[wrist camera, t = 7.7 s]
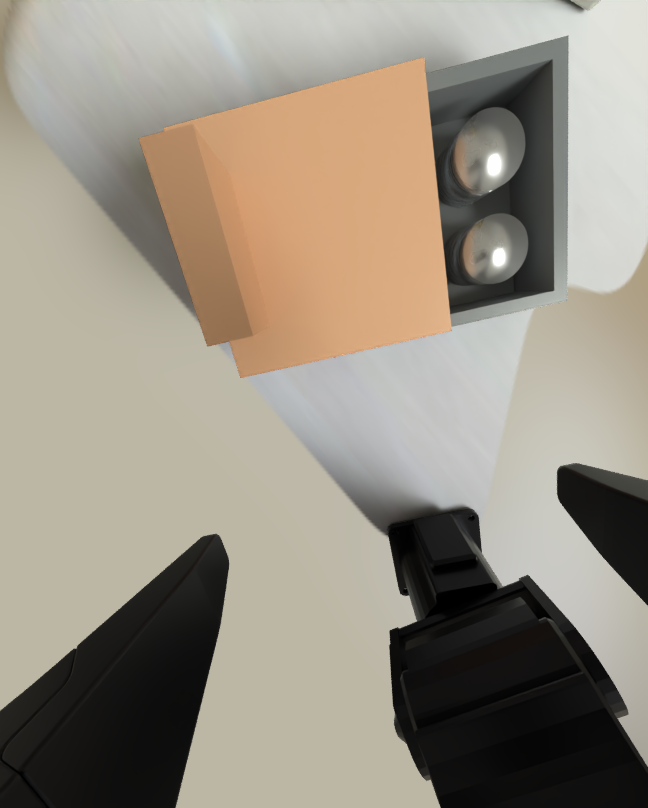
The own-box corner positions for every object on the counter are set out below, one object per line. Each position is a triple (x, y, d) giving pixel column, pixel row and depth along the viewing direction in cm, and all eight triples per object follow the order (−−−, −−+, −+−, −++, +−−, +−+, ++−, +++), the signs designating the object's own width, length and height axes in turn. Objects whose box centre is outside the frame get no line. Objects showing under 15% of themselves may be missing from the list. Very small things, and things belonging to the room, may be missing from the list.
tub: (519, 300, 20) (567, 300, 16) (353, 337, 20) (361, 346, 16) (510, 96, 17) (568, 35, 13) (316, 146, 17) (315, 103, 13)
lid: (443, 328, 16) (496, 341, 11) (245, 373, 17) (214, 404, 12) (416, 75, 13) (472, -55, 8) (174, 139, 13) (95, 54, 9)
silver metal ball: (492, 200, 17) (526, 180, 15) (436, 213, 18) (458, 197, 15) (488, 133, 16) (524, 98, 14) (429, 148, 17) (452, 117, 14)
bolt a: (497, 279, 19) (529, 275, 16) (444, 291, 19) (466, 290, 16) (493, 221, 18) (527, 206, 15) (438, 234, 18) (460, 222, 15)
